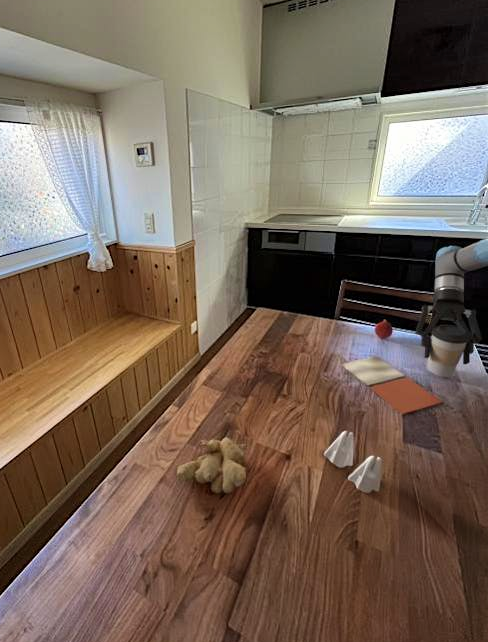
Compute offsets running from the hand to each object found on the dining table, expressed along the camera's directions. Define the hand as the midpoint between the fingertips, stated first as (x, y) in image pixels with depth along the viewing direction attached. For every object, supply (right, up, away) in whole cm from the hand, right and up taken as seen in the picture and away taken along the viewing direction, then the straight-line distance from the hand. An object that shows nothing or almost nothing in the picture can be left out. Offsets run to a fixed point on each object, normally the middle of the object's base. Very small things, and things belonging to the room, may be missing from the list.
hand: (446, 360), depth 102 cm
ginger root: (-71, -23, -22) cm, 78 cm away
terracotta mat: (-14, -10, -3) cm, 18 cm away
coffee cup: (+2, -4, +5) cm, 7 cm away
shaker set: (-41, -22, -25) cm, 53 cm away
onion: (-4, +4, +26) cm, 27 cm away
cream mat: (-18, -5, +9) cm, 20 cm away
